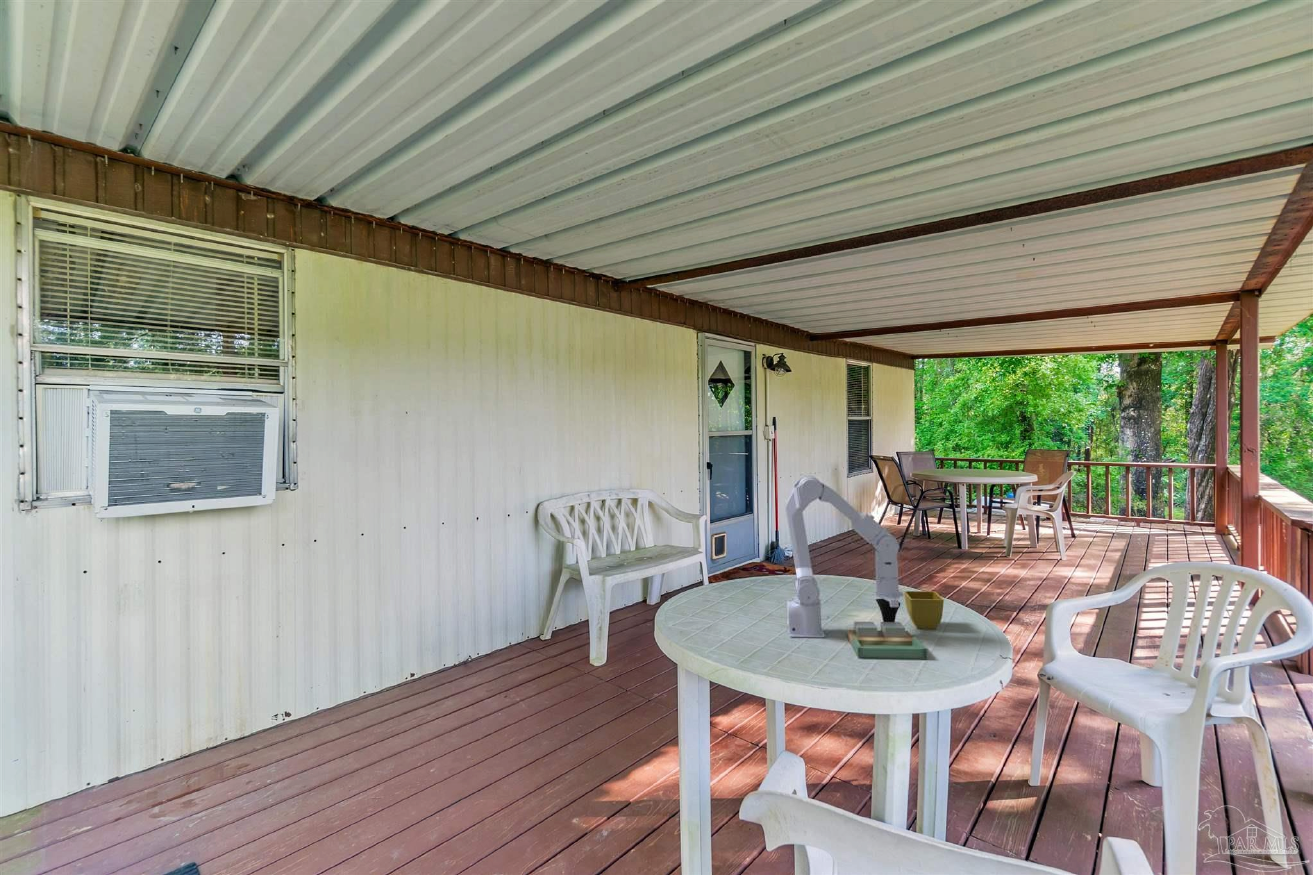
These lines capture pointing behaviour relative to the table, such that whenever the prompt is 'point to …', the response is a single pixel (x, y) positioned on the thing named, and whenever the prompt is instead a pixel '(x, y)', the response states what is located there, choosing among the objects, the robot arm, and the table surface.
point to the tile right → (893, 629)
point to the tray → (890, 650)
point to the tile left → (865, 629)
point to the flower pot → (924, 608)
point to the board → (880, 639)
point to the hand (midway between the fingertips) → (889, 626)
